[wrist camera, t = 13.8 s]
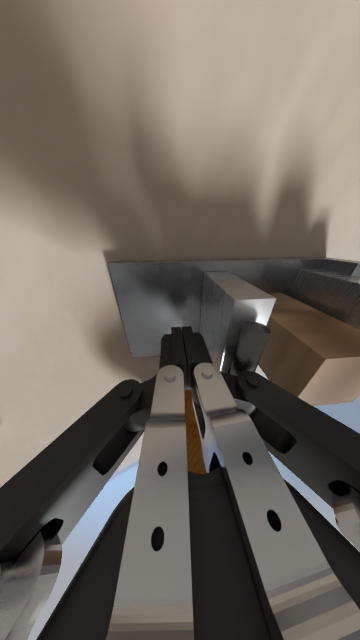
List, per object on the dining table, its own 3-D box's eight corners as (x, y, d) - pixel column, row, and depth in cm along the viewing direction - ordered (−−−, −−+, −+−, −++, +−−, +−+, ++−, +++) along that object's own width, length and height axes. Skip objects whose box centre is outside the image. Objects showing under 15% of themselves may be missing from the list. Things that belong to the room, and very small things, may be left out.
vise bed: (133, 352, 16) (115, 416, 11) (111, 261, 11) (53, 287, 5) (284, 342, 18) (343, 394, 12) (326, 257, 13) (464, 274, 7)
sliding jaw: (198, 348, 16) (218, 420, 10) (203, 272, 11) (247, 312, 5) (215, 347, 16) (246, 417, 10) (227, 271, 12) (297, 309, 5)
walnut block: (233, 330, 15) (289, 408, 8) (240, 294, 13) (326, 359, 6) (268, 327, 15) (352, 401, 8) (281, 292, 13) (407, 352, 6)
